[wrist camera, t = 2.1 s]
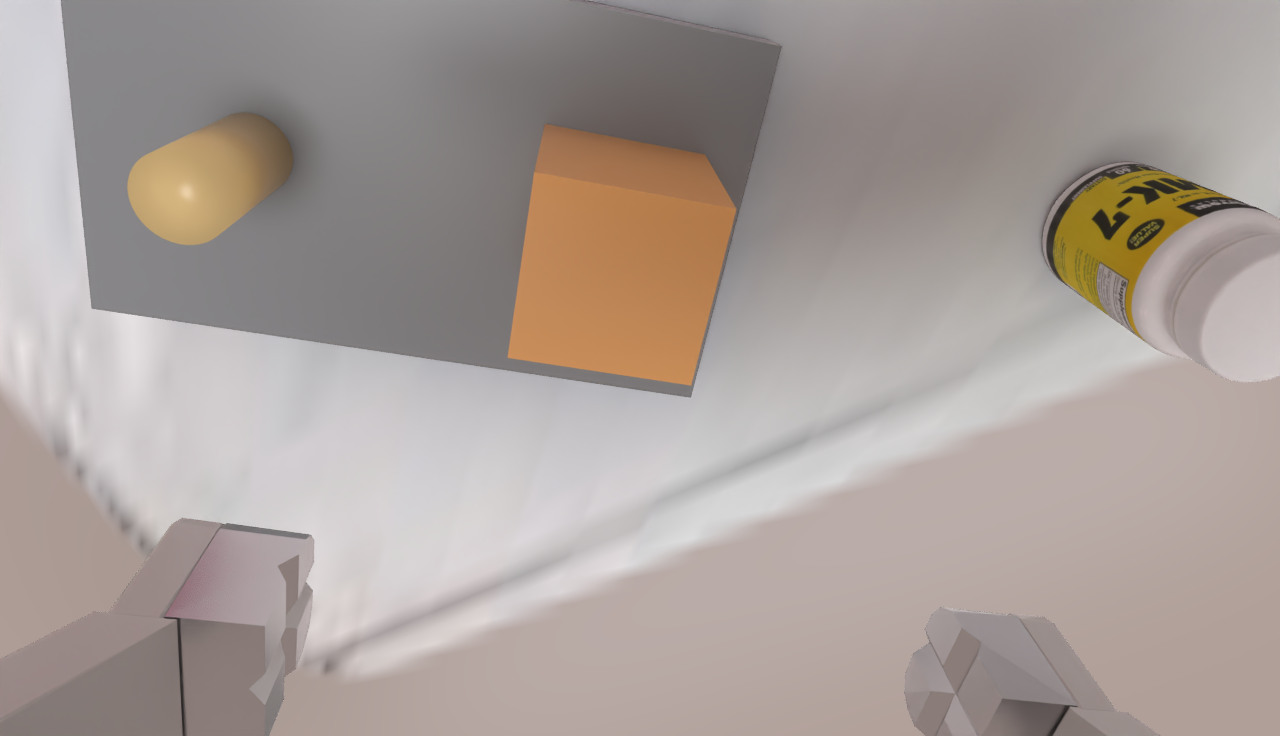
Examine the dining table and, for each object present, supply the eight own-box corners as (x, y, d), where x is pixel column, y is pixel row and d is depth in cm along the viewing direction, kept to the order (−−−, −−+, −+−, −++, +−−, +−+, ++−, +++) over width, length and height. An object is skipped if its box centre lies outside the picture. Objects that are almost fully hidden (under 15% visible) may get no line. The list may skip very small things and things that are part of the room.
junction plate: (768, 39, 26) (825, 68, 20) (684, 371, 31) (709, 477, 25) (90, -107, 23) (-89, -126, 17) (122, 286, 29) (-7, 380, 22)
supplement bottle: (1159, 135, 28) (1365, 203, 21) (1179, 253, 30) (1373, 353, 23) (1023, 196, 29) (1176, 282, 22) (1052, 307, 31) (1199, 421, 24)
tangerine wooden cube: (704, 154, 26) (736, 209, 20) (670, 301, 28) (691, 385, 23) (544, 123, 25) (534, 171, 20) (522, 277, 27) (507, 357, 22)
